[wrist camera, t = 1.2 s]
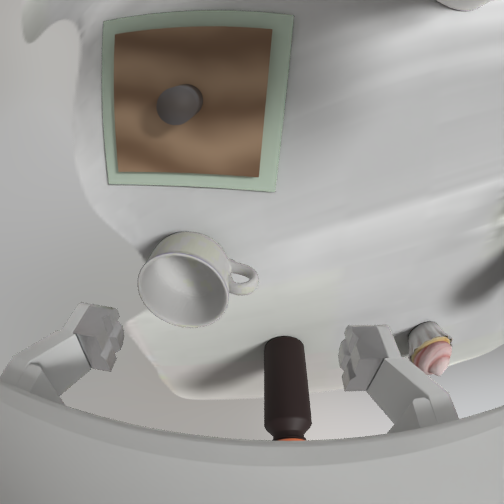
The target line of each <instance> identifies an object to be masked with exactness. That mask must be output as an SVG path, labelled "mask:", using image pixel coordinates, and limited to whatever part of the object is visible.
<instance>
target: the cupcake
mask: <svg viewBox="0 0 504 504" xmlns="http://www.w3.org/2000/svg"><path fill="white" fill-rule="evenodd" d="M452 341H453V338H452V337H450V336H448V335H447V334H446V333H445V332H444V331H443V330H442V329H441V328H440V327H439V326H438V324H437V323H435V322H425V323H422V324H420V325H418V326H417V327H415V328H414V329H413V330H412V331H411V333H410V335H409V338H408V343H409V356H408V358H409V361H410V362H412V363H413V364H414V365H415V366H417V367H418V368H419V369H420V370H422V371H423V372H424V373H425V374H427V375H431V374H435V375H437V376H441V375H442V373H443V372H444V371H445V370H446V368H447V367H448V364H449V358H450V356H451V352H452V349H451V347H452V344H451V342H452Z"/></svg>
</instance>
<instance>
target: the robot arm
mask: <svg viewBox="0 0 504 504" xmlns="http://www.w3.org/2000/svg"><path fill="white" fill-rule="evenodd" d="M437 1H438V2H440V3H442V4H444V5H446V6H448V7H450V8H453V9H457V10H462V11H471V10H475V9H478V8H479V7H481V6H483V5H484V4H486V3H488V2H491V1H493V0H437ZM119 317H120V316H119V313H118V310H117V309H116V308H112V307H106V306H100V305H94V304H87V303H82V302H81V303H79V304H78V305H77V307H76V308H75V310H74V311H73V313H72V314H71V316H70V317H69V319H68V320H67V322H66V324H65V325H64V327H63V328H62V330H61V331H60V330H57V331H55V332H53V333H52V334H50V335H49V336H47V337H45V338H43V339H41V340H40V341H38V342H36V343H34V344H33V345H31V346H29V347H28V348H26V349H24V350H22V351H21V352H19V353H17V354H16V355H14V356H13V357H12V358H11V360H10V362H9V363H8V365H7V366H6V368H5V370H4V371H3V373H2V375H1V376H0V504H504V405H503V406H501V407H498V408H495V409H492V410H489V411H485V412H482V413H479V414H476V415H472V416H469V417H465V418H462V419H459V418H458V415H457V413H456V410H455V408H454V405H453V402H452V400H451V397H450V395H449V393H448V392H447V391H446V390H445V389H444V388H442V387H441V386H440V385H439V384H438V383H436V382H435V381H434V380H433V379H431V378H430V377H429V376H428V375H427V374H425V373H424V372H423V371H422V370H420V369H419V368H418V367H417V366H415V365H414V364H413V363H412V362H410V361H409V360H408V359H407V358H405V357H401V354H400V352H399V349H398V347H397V344H396V342H395V340H394V337H393V335H392V332H391V330H390V328H389V326H388V325H348V326H347V328H346V330H345V333H344V334H345V338H346V339H344V340H343V341H342V342H341V344H340V348H339V355H338V358H339V365H340V368H342V369H343V370H344V372H343V375H342V380H343V385H344V390H345V391H367V393H368V394H369V395H370V396H371V398H372V399H373V400H374V401H375V402H376V403H377V404H378V406H379V407H380V408H381V409H382V410H383V411H384V413H385V414H386V415H387V416H388V417H389V418H390V419H391V421H392V422H393V423H394V426H393V427H392V428H391V429H390V430H389V432H388V433H387V434H381V435H375V436H365V437H355V438H344V439H329V440H311V441H309V440H308V441H307V440H305V441H270V440H268V441H267V440H246V439H245V440H244V439H231V438H218V437H209V436H200V435H192V434H185V433H178V432H171V431H165V430H160V429H154V428H149V427H144V426H139V425H134V424H130V423H126V422H121V421H117V420H113V419H109V418H105V417H101V416H98V415H94V414H91V413H87V412H84V411H81V410H78V409H74V408H71V407H68V406H66V405H65V404H64V402H63V401H62V399H61V398H60V397H59V396H60V395H61V394H63V393H64V392H65V391H66V390H67V389H68V388H70V387H71V386H72V385H73V384H74V383H76V382H77V381H78V380H79V379H80V378H82V377H83V376H84V375H85V374H86V373H87V372H89V371H90V370H91V368H93V369H98V370H103V371H109V372H111V370H112V368H113V366H114V363H115V361H116V356H115V353H116V352H118V351H119V350H121V347H122V345H123V340H124V330H123V326H122V325H121V324H120V323H119V322H118V319H119Z"/></svg>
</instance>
